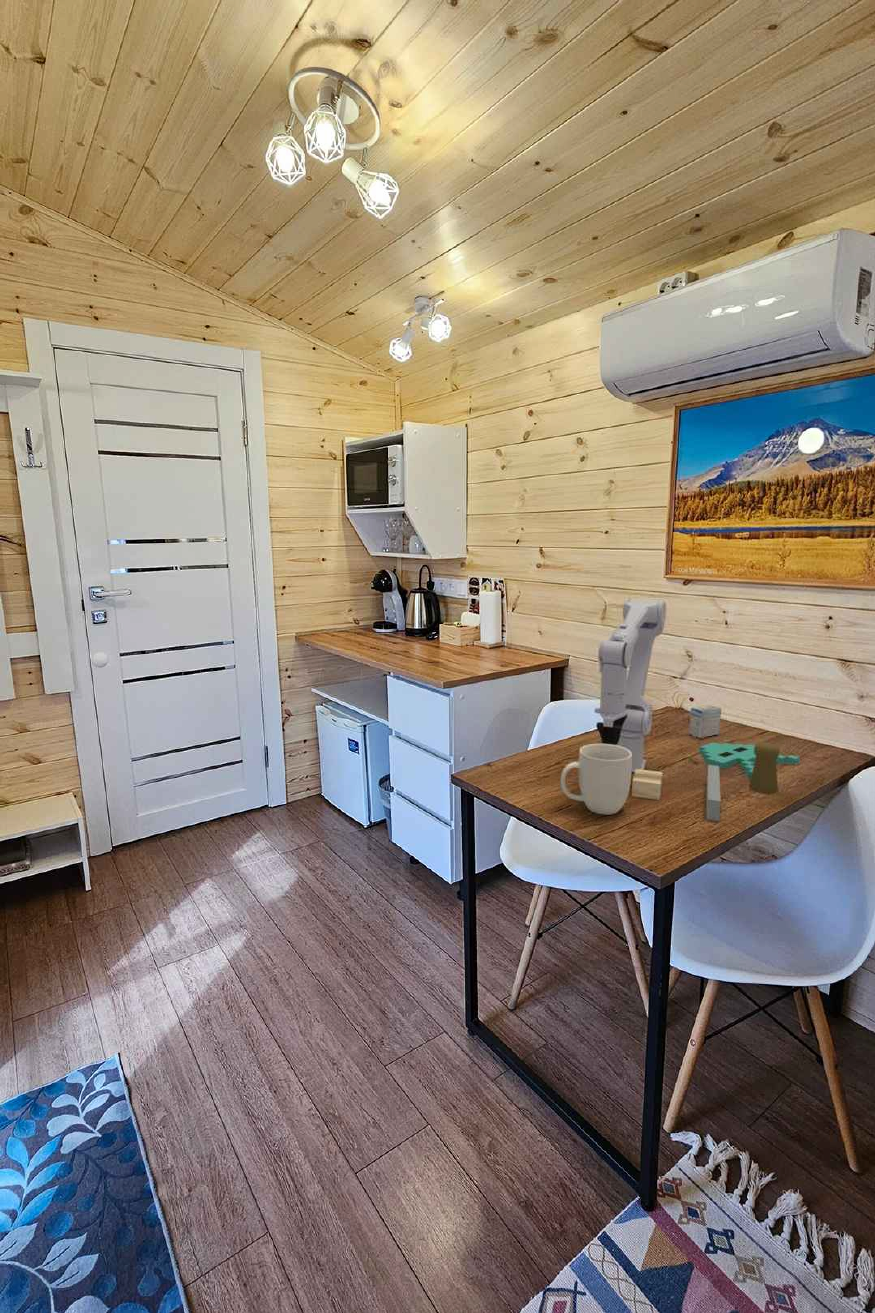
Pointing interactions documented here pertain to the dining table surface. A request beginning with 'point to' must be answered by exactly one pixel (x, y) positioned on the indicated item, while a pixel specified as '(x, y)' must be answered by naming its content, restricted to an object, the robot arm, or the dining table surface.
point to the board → (713, 793)
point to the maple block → (647, 784)
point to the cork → (765, 768)
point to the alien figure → (736, 756)
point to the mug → (602, 777)
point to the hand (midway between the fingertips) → (611, 748)
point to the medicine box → (705, 720)
